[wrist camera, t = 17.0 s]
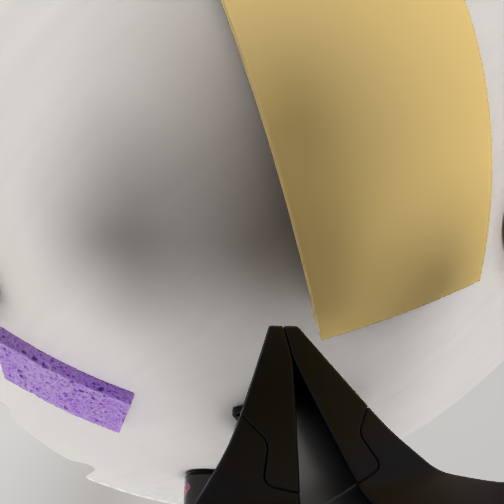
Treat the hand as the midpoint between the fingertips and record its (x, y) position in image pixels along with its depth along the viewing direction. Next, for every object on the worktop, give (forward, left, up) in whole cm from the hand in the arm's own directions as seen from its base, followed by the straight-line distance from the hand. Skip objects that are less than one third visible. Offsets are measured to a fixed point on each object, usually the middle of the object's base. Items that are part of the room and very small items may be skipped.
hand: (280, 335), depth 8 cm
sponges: (-7, +20, -7) cm, 22 cm away
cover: (+4, -6, -5) cm, 9 cm away
